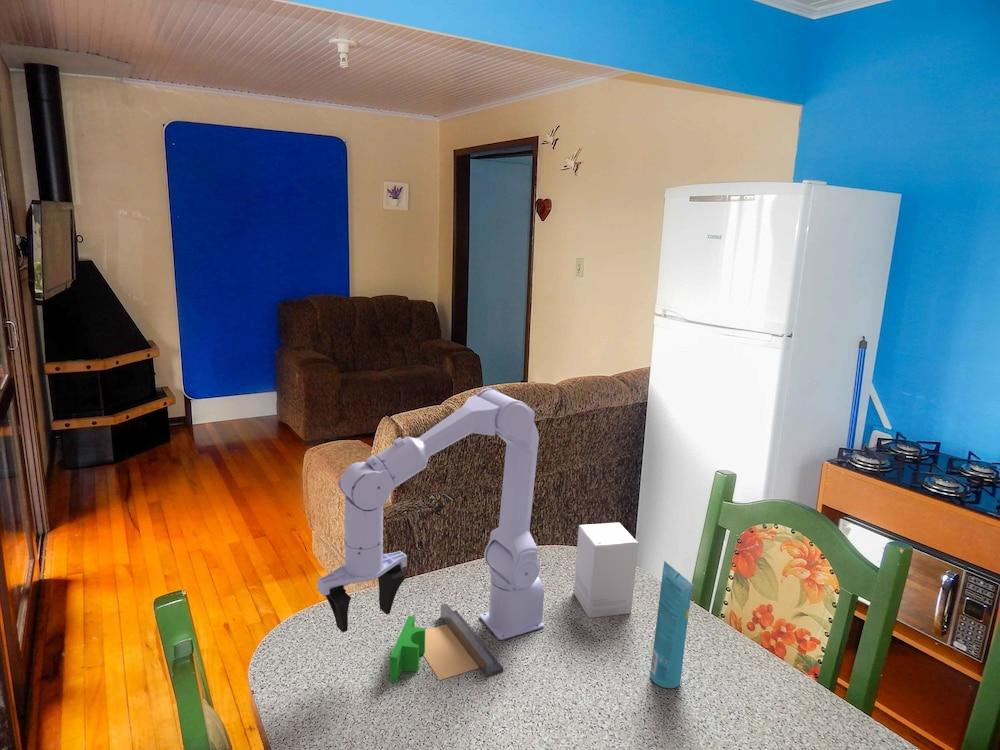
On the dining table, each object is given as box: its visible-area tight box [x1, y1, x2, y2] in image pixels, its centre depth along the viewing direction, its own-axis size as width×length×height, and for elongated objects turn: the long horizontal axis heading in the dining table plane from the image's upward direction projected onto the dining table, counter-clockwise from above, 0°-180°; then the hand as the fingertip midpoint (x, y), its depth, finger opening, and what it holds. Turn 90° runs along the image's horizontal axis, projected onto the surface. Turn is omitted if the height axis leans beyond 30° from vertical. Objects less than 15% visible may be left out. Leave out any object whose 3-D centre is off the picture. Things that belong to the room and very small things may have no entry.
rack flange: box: [422, 603, 504, 681], centre depth 111 cm, size 10×18×2 cm, turn 29°
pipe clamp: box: [389, 615, 426, 683], centre depth 107 cm, size 11×4×5 cm, turn 173°
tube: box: [649, 560, 694, 689], centre depth 104 cm, size 7×5×19 cm, turn 26°
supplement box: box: [573, 521, 639, 619], centre depth 125 cm, size 9×9×15 cm
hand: (364, 619), depth 102 cm, fingers open, 7 cm apart
